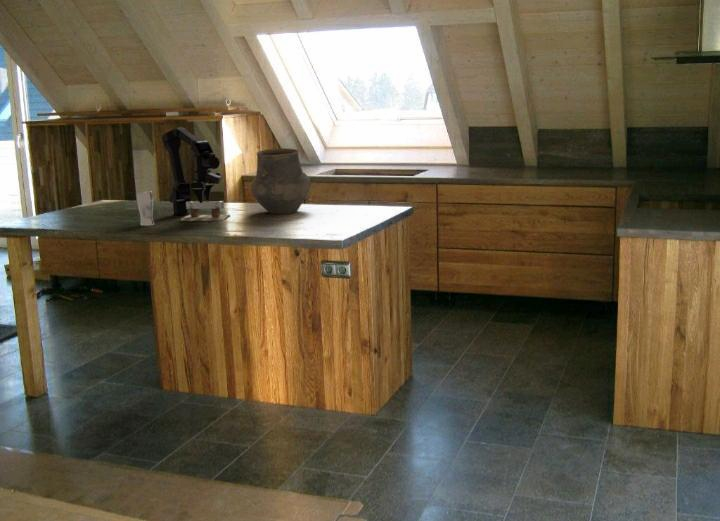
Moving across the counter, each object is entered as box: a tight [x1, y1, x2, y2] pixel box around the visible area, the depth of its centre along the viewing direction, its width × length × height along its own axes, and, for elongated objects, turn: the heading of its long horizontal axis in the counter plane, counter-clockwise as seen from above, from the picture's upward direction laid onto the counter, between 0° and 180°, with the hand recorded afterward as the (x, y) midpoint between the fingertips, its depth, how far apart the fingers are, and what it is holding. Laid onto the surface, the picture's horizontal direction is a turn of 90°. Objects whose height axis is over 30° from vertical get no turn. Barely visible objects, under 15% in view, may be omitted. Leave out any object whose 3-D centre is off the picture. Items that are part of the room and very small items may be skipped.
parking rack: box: [180, 209, 231, 222], centre depth 386 cm, size 20×11×5 cm, turn 81°
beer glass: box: [136, 190, 155, 227], centre depth 373 cm, size 7×7×15 cm
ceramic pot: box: [250, 148, 311, 215], centre depth 396 cm, size 28×28×30 cm
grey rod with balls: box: [186, 200, 225, 210], centre depth 385 cm, size 18×4×3 cm, turn 81°
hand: (204, 201), depth 385 cm, fingers open, 9 cm apart
